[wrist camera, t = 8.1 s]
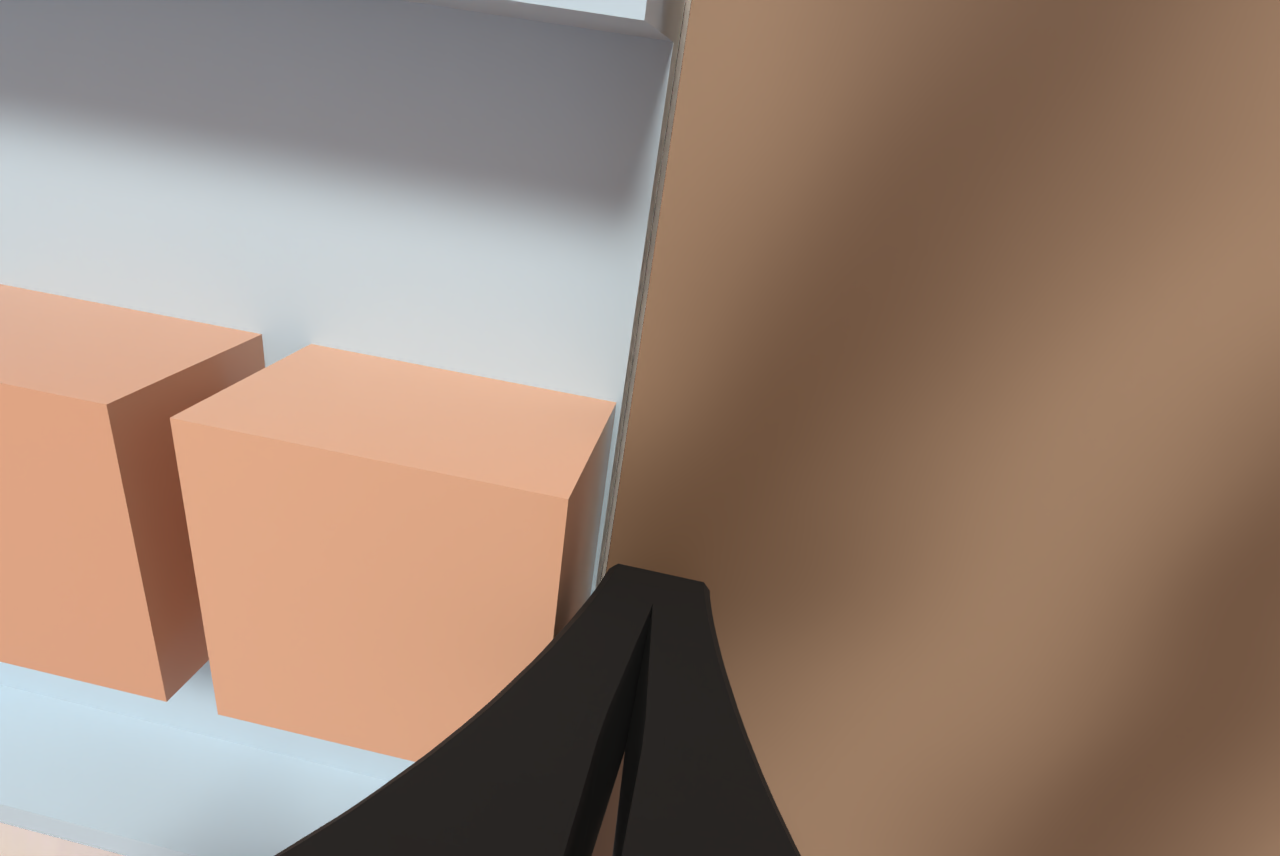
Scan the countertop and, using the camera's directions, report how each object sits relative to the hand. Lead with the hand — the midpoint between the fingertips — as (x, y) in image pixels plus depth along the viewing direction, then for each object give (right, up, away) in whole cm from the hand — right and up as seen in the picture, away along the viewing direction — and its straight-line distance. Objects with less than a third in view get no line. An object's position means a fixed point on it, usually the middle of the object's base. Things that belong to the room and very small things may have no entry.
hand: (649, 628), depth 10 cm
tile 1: (-9, +3, +3) cm, 10 cm away
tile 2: (-3, +1, +2) cm, 4 cm away
